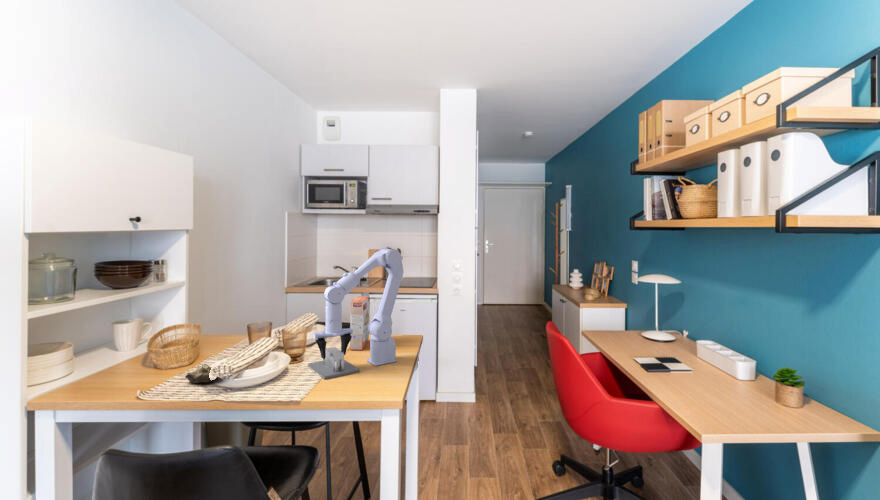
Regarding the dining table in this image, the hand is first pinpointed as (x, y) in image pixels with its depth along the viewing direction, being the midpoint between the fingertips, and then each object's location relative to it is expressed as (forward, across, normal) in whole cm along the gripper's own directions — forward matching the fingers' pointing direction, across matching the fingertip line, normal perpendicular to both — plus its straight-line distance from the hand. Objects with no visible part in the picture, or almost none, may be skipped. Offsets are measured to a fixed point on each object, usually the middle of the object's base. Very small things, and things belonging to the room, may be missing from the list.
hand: (333, 356), depth 149 cm
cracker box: (+5, +21, +21) cm, 30 cm away
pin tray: (+5, 0, 0) cm, 5 cm away
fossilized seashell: (+5, -40, +13) cm, 42 cm away
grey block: (+4, 0, -1) cm, 4 cm away
